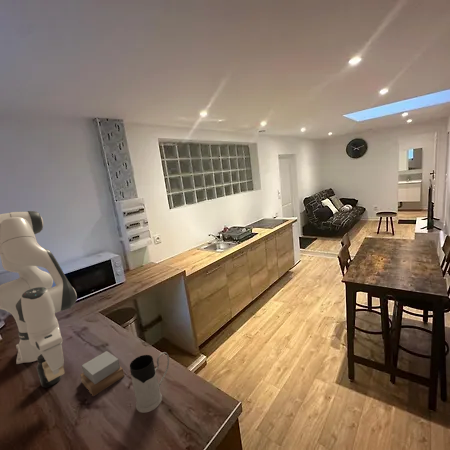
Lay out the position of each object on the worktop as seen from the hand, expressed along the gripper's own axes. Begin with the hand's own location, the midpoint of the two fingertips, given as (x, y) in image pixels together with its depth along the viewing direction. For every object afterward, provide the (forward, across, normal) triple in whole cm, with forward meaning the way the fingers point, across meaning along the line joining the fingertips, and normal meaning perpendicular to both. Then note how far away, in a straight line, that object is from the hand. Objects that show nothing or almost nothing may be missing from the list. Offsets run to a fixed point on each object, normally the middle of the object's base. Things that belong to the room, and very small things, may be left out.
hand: (53, 369), depth 92 cm
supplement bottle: (+13, -15, 0) cm, 20 cm away
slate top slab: (+9, +3, +14) cm, 17 cm away
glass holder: (+12, +29, +22) cm, 38 cm away
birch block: (+2, 0, 0) cm, 2 cm away
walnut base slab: (+13, +3, +14) cm, 20 cm away
